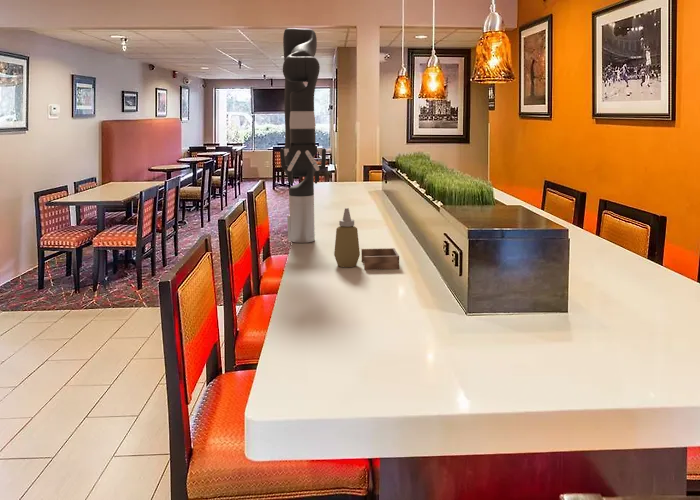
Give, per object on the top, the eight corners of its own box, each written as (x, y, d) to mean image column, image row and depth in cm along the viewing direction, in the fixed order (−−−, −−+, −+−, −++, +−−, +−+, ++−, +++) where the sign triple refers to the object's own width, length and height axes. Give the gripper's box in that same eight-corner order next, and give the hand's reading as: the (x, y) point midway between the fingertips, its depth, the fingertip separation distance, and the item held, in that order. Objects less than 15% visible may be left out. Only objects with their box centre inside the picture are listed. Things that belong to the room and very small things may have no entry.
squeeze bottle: (343, 261, 191) (343, 205, 187) (365, 264, 187) (365, 207, 183) (328, 266, 185) (328, 209, 181) (350, 270, 180) (350, 211, 176)
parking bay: (364, 269, 181) (364, 256, 180) (361, 260, 192) (361, 248, 191) (399, 268, 181) (399, 256, 180) (394, 260, 192) (394, 248, 191)
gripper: (277, 127, 172) (279, 185, 175) (327, 127, 173) (328, 184, 176) (278, 127, 179) (280, 182, 183) (326, 127, 180) (327, 181, 183)
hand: (303, 183), depth 179 cm, fingers open, 7 cm apart
